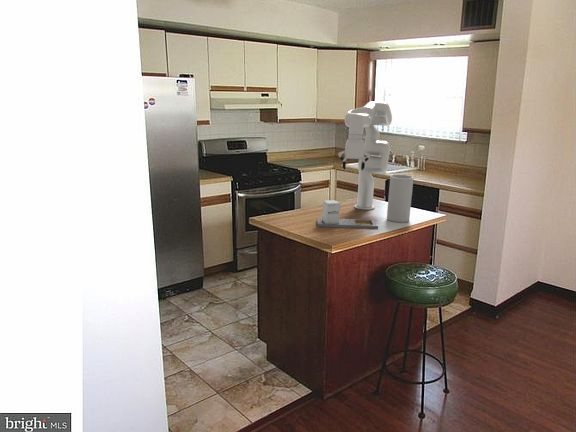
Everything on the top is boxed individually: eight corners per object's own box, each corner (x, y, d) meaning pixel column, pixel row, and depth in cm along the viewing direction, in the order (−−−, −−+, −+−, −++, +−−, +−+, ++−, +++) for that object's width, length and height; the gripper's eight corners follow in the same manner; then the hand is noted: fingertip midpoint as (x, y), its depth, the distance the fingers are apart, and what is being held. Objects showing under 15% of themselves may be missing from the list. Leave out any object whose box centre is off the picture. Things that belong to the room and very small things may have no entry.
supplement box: (326, 226, 244) (327, 203, 241) (321, 222, 251) (322, 200, 248) (339, 225, 246) (340, 202, 243) (334, 221, 253) (335, 199, 250)
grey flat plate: (317, 220, 255) (317, 217, 254) (375, 222, 254) (375, 219, 253) (317, 226, 243) (317, 223, 243) (378, 229, 242) (378, 226, 242)
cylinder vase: (392, 215, 269) (396, 173, 263) (412, 219, 262) (417, 176, 255) (382, 219, 260) (386, 176, 253) (403, 224, 252) (407, 179, 246)
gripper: (370, 137, 247) (368, 169, 251) (338, 136, 247) (336, 167, 251) (372, 138, 240) (370, 171, 244) (339, 137, 240) (337, 169, 244)
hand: (353, 169), depth 247 cm, fingers open, 9 cm apart
